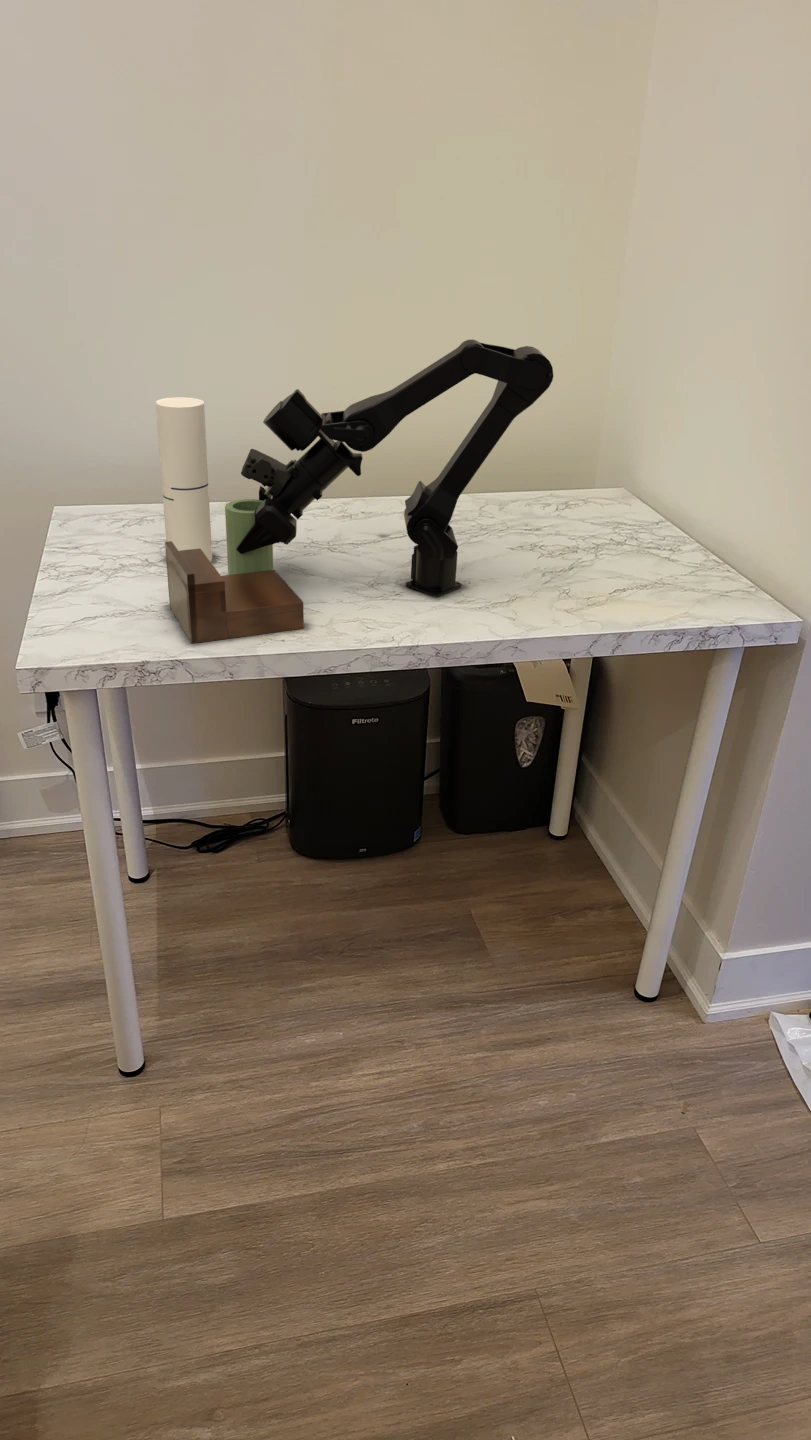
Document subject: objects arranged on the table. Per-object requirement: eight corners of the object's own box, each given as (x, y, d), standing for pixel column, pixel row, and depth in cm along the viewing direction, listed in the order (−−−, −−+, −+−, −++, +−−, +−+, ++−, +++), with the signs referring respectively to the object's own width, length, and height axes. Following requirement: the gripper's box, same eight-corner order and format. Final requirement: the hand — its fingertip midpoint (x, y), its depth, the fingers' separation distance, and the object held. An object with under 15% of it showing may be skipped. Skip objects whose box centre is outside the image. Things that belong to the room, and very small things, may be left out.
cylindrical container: (202, 569, 164) (193, 409, 152) (160, 564, 165) (147, 405, 153) (218, 554, 170) (211, 399, 158) (177, 549, 171) (167, 395, 159)
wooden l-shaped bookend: (275, 594, 156) (273, 530, 151) (303, 628, 146) (303, 561, 141) (169, 607, 150) (164, 541, 146) (191, 643, 140) (186, 574, 135)
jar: (282, 585, 160) (281, 506, 154) (249, 596, 155) (246, 516, 149) (253, 573, 164) (250, 496, 158) (219, 584, 159) (215, 505, 153)
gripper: (276, 417, 156) (206, 487, 161) (270, 449, 140) (192, 526, 145) (328, 470, 161) (259, 537, 165) (328, 507, 145) (251, 579, 149)
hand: (240, 543), depth 156 cm, fingers closed on jar, 7 cm apart
